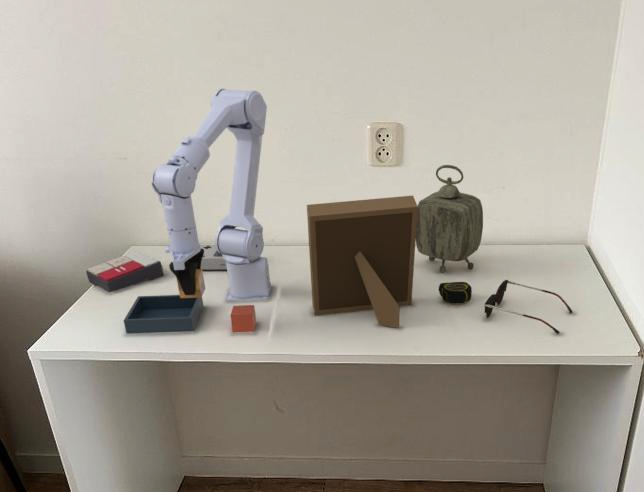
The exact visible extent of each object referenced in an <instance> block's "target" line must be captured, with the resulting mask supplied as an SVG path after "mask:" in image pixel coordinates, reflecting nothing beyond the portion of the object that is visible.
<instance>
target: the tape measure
mask: <svg viewBox="0 0 644 492" xmlns="http://www.w3.org/2000/svg"><path fill="white" fill-rule="evenodd" d="M438 292H439V296H440V297H441V299H442V301H443V302H445V303H446V304H453V305H460V304H465V303H468V302H469V301H470V300H471V299H472V295H473V289H472V286H471V285H470V284H469V283H468V282H466V281H452V282H441V283H439V285H438Z"/></svg>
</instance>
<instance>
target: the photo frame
mask: <svg viewBox="0 0 644 492" xmlns="http://www.w3.org/2000/svg"><path fill="white" fill-rule="evenodd" d="M417 211H418V204H417V202H416V199H415V196H414V195H403V196H392V197H380V198H370V199H357V200H356V199H355V200H348V201H347V200H346V201H335V202H325V203H312V204H311V203H310V204H306V217H307V232H308V233H307V234H308V250H309V251H308V252H309V266H310V267H309V268H310V269H309V270H310V285H311V286H310V287H311V302H312V309H313V313H314V316H324V315H333V314H343V313H351V312H360V311H361V312H362V311H370V310H371V311H373V312H374V314H375V318H376V321H377V324H378V325H379V326H383V327H392V328H399V327H400V307H409V306H412V303H413V302H412V301H413V283H414V269H415V256H416V226H417Z"/></svg>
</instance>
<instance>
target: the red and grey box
mask: <svg viewBox="0 0 644 492" xmlns="http://www.w3.org/2000/svg"><path fill="white" fill-rule="evenodd" d="M85 272H86V276H87V279H88V282H89V283H90V284H92V285H94V286H95V287H99V288H100V289H102V290H103V291H106V292H108V293H113V292H115V291H118V290H122V289H125V288H127V287H130V286H134V285H137V284H139V283H141V282H144V281H146V280H150V281H153V280H155V279H158V278H160V277H163V276H164V274H165V273H164V270H163V266H162V262H161V261H160V260H158V259H156V258H154V257H151V256H150V255H147V254H145V253H143V252H141V251H135V252H131V253H128V254H126V255H122V256H119V257H115V258H113V259H111V260H108V261H106V262H103V263H99V264H96V265H94V266H91V267H88V268H87V270H86V271H85Z"/></svg>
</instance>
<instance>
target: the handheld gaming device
mask: <svg viewBox="0 0 644 492" xmlns="http://www.w3.org/2000/svg"><path fill="white" fill-rule="evenodd" d="M200 248H201V249H204V254H203V257H202V262H201V269H202V270H227V265H226V260H225V259H223V256H222V254H220V253H219V252H218V251H217V249H216V244H214V245H212V244H211V245H206V244H205V245H201V244H200Z"/></svg>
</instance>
